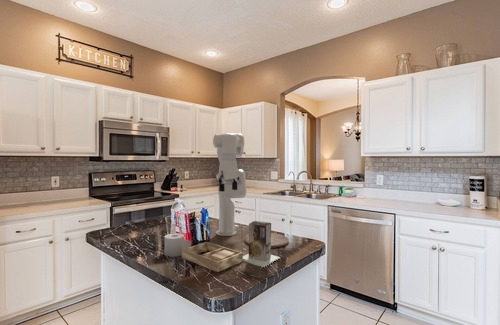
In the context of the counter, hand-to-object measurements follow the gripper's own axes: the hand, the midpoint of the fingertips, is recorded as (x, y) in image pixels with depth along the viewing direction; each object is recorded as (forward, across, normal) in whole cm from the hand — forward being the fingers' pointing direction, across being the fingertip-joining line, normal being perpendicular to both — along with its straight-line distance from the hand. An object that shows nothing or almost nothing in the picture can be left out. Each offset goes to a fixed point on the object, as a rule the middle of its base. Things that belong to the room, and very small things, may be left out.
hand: (228, 190), depth 141 cm
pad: (+30, +1, +22) cm, 37 cm away
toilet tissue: (+31, +22, -13) cm, 40 cm away
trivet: (+31, -24, +8) cm, 40 cm away
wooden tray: (+30, +16, +6) cm, 35 cm away
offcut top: (+28, +16, +13) cm, 35 cm away
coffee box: (+30, +1, +22) cm, 37 cm away
